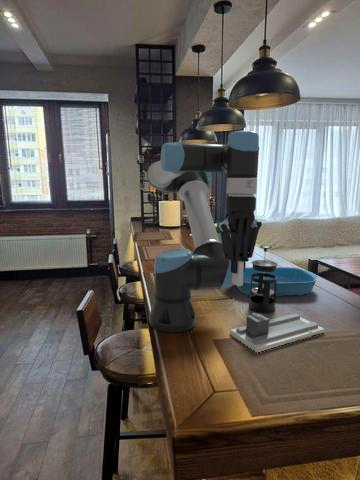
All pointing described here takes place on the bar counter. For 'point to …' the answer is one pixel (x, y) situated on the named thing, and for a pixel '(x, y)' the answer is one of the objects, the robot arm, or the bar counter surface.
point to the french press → (263, 286)
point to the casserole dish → (282, 281)
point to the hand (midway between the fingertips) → (237, 284)
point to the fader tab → (257, 325)
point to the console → (278, 332)
